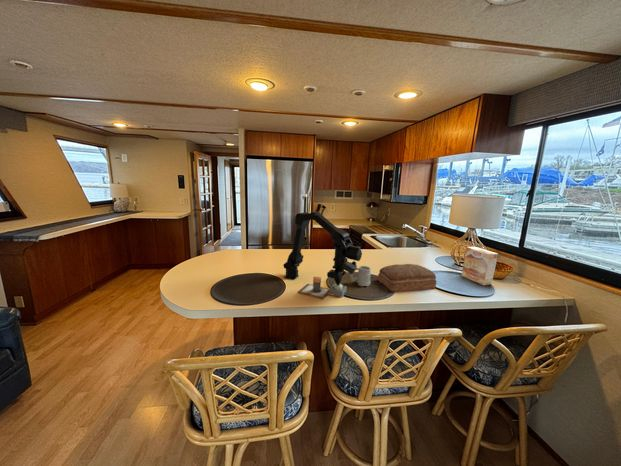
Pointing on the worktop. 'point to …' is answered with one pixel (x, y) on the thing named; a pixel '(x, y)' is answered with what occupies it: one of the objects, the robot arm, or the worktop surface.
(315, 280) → the marker
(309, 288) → the picture frame
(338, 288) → the button
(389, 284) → the bread
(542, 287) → the worktop surface
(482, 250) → the coffeecake box
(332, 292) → the button collar
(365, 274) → the mug
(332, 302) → the worktop surface
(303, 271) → the worktop surface
